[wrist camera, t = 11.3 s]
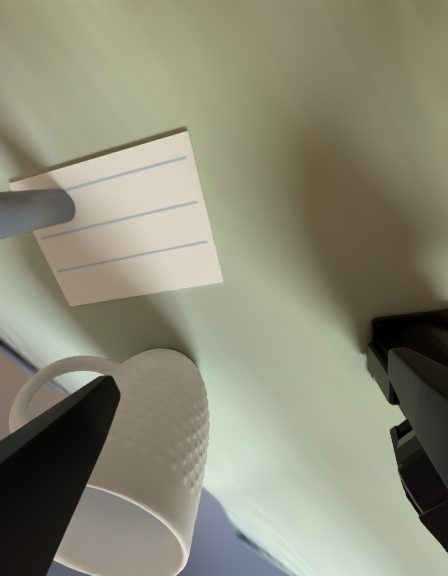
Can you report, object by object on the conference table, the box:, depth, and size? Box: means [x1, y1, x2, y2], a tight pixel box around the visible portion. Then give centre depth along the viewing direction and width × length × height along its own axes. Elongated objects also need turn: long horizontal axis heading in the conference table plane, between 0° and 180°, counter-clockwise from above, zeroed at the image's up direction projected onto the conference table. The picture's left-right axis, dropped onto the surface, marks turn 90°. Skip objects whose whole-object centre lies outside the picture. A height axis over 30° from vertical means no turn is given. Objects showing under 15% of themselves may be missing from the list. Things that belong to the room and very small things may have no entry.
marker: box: [0, 188, 76, 239], centre depth 15 cm, size 3×3×10 cm
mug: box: [9, 348, 210, 576], centre depth 20 cm, size 15×11×13 cm
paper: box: [9, 131, 224, 307], centre depth 20 cm, size 15×11×1 cm
